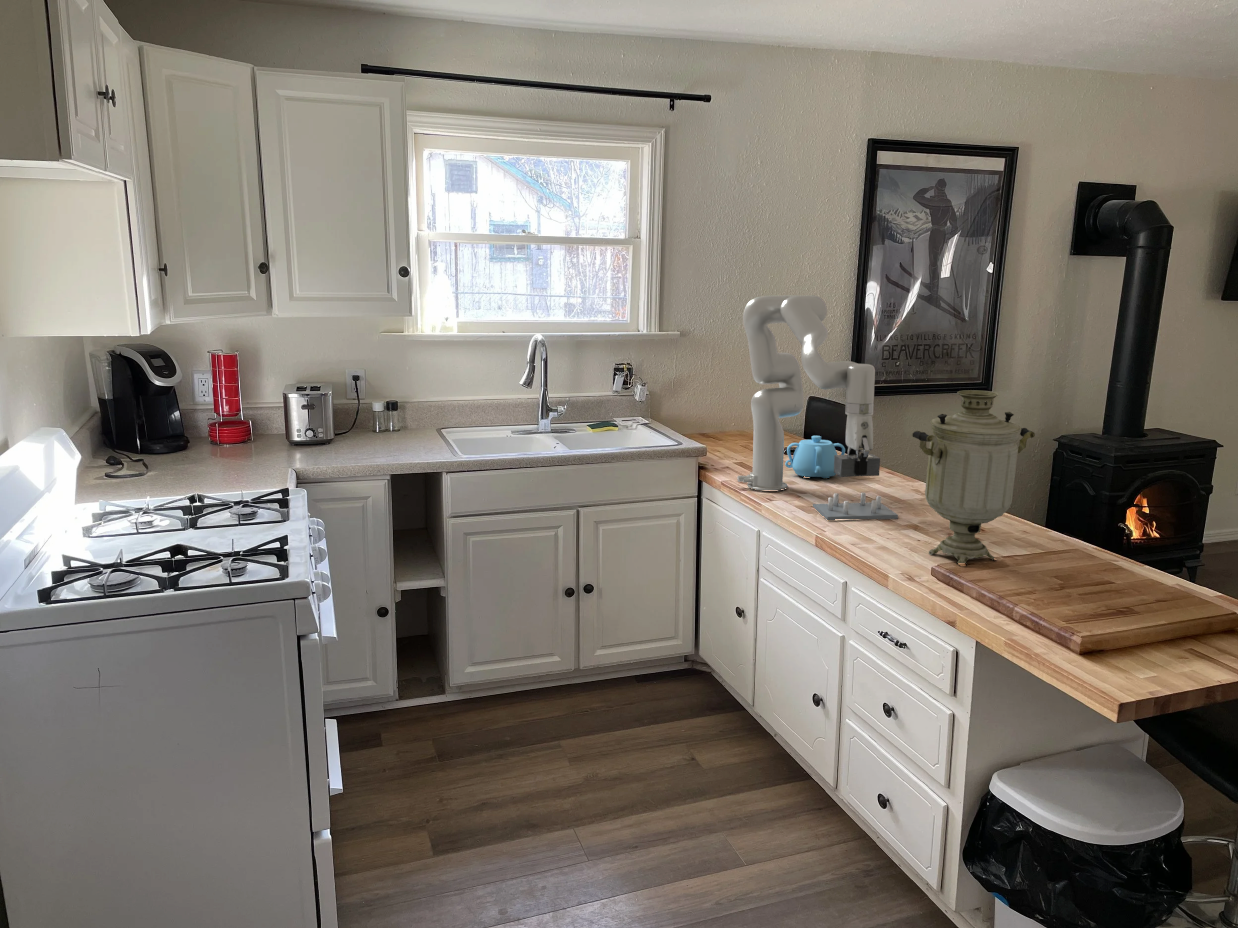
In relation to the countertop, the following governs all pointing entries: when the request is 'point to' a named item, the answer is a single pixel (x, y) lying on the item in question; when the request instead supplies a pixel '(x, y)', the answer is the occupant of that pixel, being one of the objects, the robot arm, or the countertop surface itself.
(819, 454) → the decorative pot
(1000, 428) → the samovar
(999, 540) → the countertop surface
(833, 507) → the peg board
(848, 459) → the drive
